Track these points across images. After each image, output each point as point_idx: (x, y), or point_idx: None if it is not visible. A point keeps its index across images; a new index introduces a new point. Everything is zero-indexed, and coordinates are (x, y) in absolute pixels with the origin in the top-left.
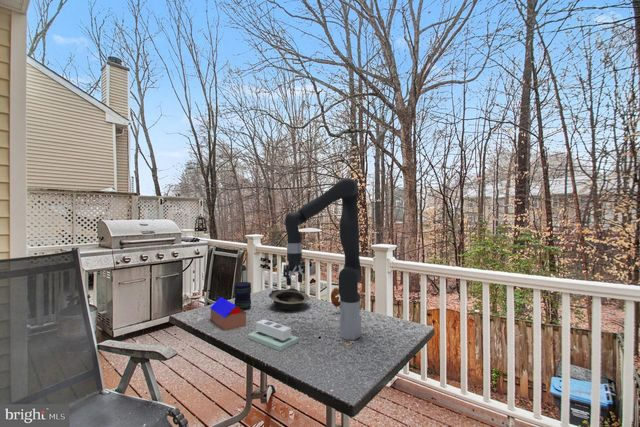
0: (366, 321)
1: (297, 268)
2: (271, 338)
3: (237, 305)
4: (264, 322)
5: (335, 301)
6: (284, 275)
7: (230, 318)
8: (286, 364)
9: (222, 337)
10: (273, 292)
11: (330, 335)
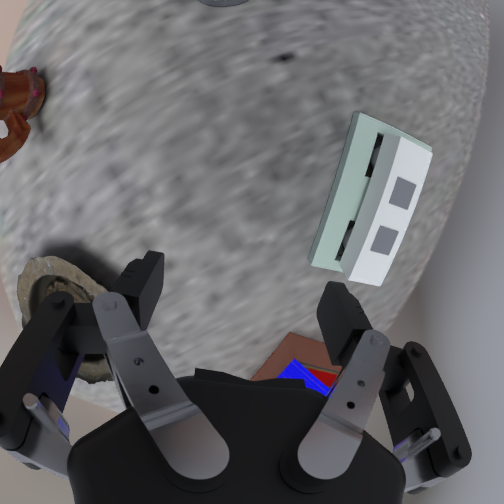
0: (73, 9)
1: (209, 419)
2: None
3: None
4: (378, 259)
5: (16, 133)
6: (406, 383)
7: (335, 366)
8: (464, 107)
9: (380, 325)
10: (89, 376)
11: (249, 31)
